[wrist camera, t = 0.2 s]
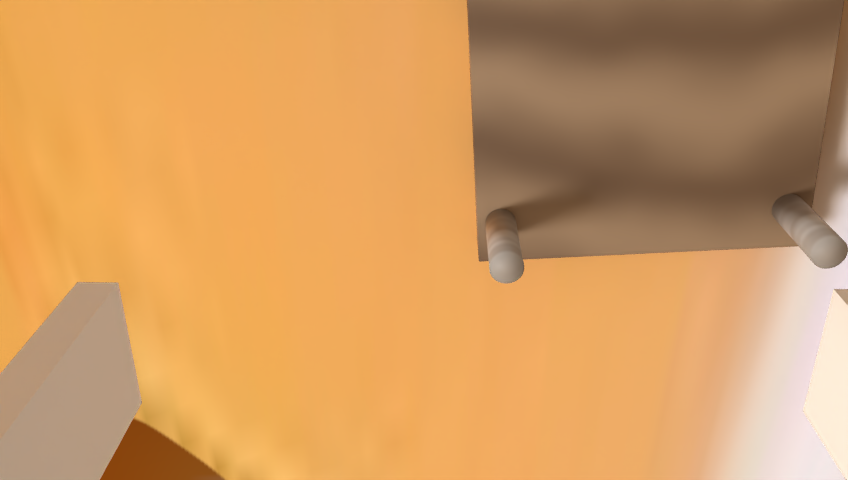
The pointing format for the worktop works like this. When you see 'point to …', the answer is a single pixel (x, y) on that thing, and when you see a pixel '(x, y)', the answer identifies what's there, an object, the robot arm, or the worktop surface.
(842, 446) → the robot arm
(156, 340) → the worktop surface
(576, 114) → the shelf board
